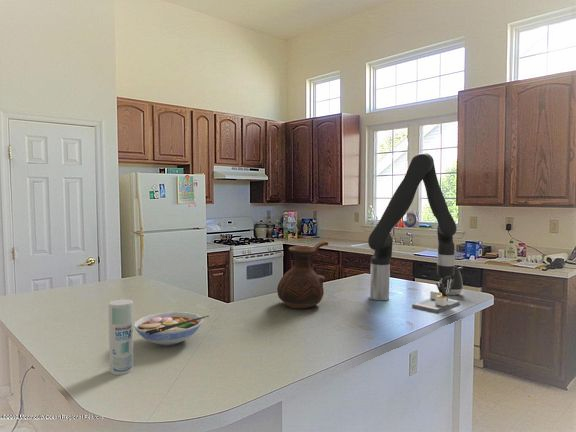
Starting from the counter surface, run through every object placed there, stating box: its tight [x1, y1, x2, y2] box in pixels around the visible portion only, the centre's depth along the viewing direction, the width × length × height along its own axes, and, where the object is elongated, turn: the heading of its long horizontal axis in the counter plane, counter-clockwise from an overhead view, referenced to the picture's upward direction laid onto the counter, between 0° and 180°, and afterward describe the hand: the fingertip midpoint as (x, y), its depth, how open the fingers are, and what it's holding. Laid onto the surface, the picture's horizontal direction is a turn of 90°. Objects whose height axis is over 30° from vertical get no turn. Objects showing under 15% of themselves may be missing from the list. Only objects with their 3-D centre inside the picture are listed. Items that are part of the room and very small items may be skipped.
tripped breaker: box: [435, 294, 447, 306], centre depth 191 cm, size 3×4×4 cm
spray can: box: [107, 299, 134, 376], centre depth 122 cm, size 6×6×20 cm
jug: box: [276, 239, 329, 310], centre depth 194 cm, size 22×22×30 cm
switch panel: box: [411, 297, 461, 314], centre depth 196 cm, size 22×12×2 cm, turn 133°
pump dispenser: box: [448, 265, 464, 296], centre depth 218 cm, size 10×10×15 cm
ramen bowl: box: [133, 311, 210, 347], centre depth 146 cm, size 25×23×8 cm
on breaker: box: [429, 289, 442, 299], centre depth 202 cm, size 3×4×4 cm
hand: (444, 301), depth 194 cm, fingers closed
